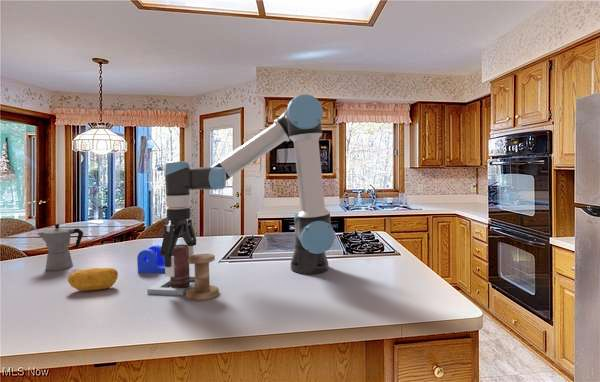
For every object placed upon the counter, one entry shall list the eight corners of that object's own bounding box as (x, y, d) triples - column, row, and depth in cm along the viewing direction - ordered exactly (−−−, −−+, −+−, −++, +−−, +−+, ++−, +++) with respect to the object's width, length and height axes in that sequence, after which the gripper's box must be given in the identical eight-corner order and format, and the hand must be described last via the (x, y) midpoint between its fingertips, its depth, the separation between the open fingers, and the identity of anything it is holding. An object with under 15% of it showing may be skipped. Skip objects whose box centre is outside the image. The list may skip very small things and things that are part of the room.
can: (184, 290, 108) (183, 248, 107) (167, 289, 109) (165, 247, 108) (193, 283, 114) (192, 244, 113) (177, 282, 115) (175, 243, 114)
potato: (77, 286, 112) (75, 266, 111) (121, 284, 114) (121, 264, 113) (65, 294, 105) (63, 273, 104) (113, 292, 107) (112, 271, 106)
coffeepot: (35, 272, 127) (32, 227, 126) (43, 266, 135) (40, 223, 134) (82, 268, 133) (79, 224, 132) (87, 261, 141) (85, 220, 140)
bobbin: (223, 289, 108) (222, 253, 107) (211, 301, 98) (210, 261, 98) (194, 288, 110) (193, 252, 109) (180, 300, 100) (178, 260, 99)
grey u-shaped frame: (202, 279, 118) (202, 275, 118) (182, 295, 103) (182, 290, 103) (171, 278, 120) (171, 274, 120) (147, 293, 105) (147, 289, 105)
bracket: (137, 272, 127) (136, 250, 126) (149, 266, 135) (148, 245, 134) (182, 273, 125) (182, 250, 125) (191, 267, 134) (190, 245, 133)
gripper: (185, 203, 122) (187, 259, 124) (145, 212, 98) (148, 281, 99) (204, 203, 121) (206, 259, 123) (169, 212, 97) (171, 282, 98)
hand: (180, 269), depth 111 cm, fingers open, 13 cm apart
